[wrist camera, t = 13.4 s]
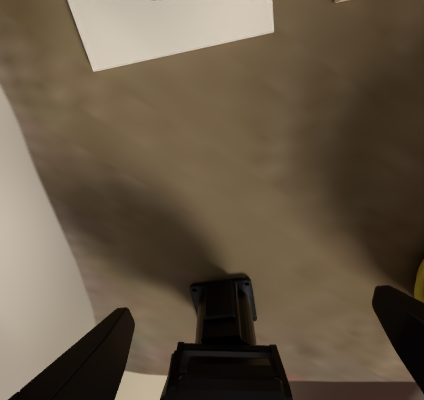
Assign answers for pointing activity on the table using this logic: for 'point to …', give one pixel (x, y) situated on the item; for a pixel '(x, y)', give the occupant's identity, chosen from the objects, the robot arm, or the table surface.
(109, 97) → the table surface
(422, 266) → the flowerpot
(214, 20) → the white flat square slab
